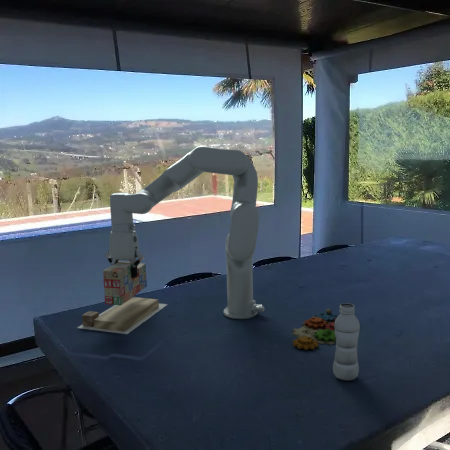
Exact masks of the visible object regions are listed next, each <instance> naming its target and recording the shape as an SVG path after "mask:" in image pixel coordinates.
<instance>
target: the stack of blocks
mask: <svg viewBox="0 0 450 450" xmlns="http://www.w3.org/2000/svg"><path fill="white" fill-rule="evenodd" d="M131 267H132V265H131V263H130V261H125V260H123V261H122V260H119V262H117V263H116V264H114V265H112V266H111V265H110V266H109V267H107V268H105V269H103V270H102V271H103V272H102V276H103V288H104V289H103V290H104V304H105V305H111V306H114V305H122V304H124V303H125V302H127V301H128V300H129V299H131V298H132V297H135V296H137V294H138V293H140V292H141V291H143V290H144V289H146V288H147V287H148V281H147V270H146V269H147V265H146V263H142V262H141V263H140V264H139V265H138V266H137V269H138V275H137V277H135V278H131Z"/></svg>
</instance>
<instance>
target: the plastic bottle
mask: <svg viewBox="0 0 450 450" xmlns="http://www.w3.org/2000/svg"><path fill="white" fill-rule="evenodd" d="M355 307H356V306H355V305H354V304H353V303H349V302H344V303H340V304H339V311H338V312H339V315H338V316H337V319H336V320H335V323H334V329H335V337H336V339H335V341H336V343H335V353H334V360H333V363H332V371H333V375H334V376H335V377H336V379H339V380H341V381H354V380H356V378H357V377H358V376H359V372H360V366H359V361H358V360H359V359H358V344H359V343H358V341H359V337H360V336H359V334H360V329H361V325H360V321H359V320H358V318H357V316H356V315H355V313H356V310H355V309H356V308H355Z"/></svg>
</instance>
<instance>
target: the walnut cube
mask: <svg viewBox="0 0 450 450" xmlns="http://www.w3.org/2000/svg"><path fill="white" fill-rule="evenodd" d="M99 314H100V313H99V312H98V311H92V310H89V311H87V312H85V313H83V314H81V318H82V319H81V320H82V324H83V326H87V327H94V319H96V318H97V317H99Z"/></svg>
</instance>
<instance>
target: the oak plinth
mask: <svg viewBox="0 0 450 450" xmlns="http://www.w3.org/2000/svg"><path fill="white" fill-rule="evenodd" d="M159 304H160V301H159V298H158V299H156V298H148V297H136V296H133V297H132V298H131V299H129V300H128V301H127V302H125V303H124V304H122V305H117V306H115V307H114V308H112V309H111V310H109V311H107V312H106V313H104V314H102V315H101V316H99V317H97V318H96V319H94V328H99V329H107V330H115V331H123V332H125V331H126V330H127V329H129V328H130V327H132V326H133V325H134V324H136V323H137V322H139V321H140V320H141V319H143V318H144V317H146V316H147V315H148V314H150V313H151V312H153V311H154V310H155V309H157V308H158V307H159Z"/></svg>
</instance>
